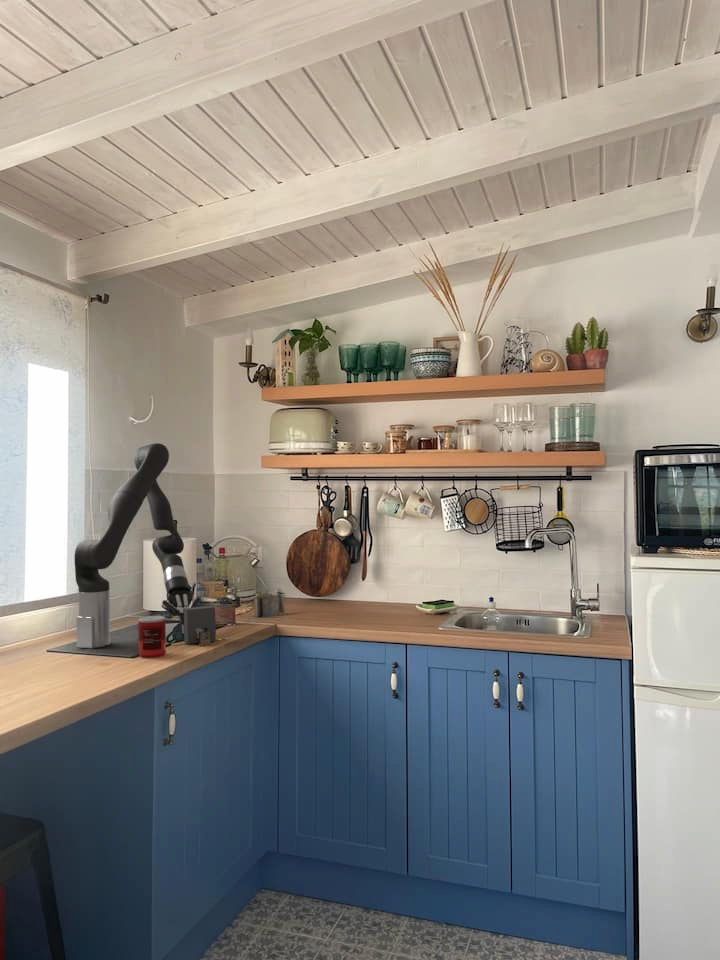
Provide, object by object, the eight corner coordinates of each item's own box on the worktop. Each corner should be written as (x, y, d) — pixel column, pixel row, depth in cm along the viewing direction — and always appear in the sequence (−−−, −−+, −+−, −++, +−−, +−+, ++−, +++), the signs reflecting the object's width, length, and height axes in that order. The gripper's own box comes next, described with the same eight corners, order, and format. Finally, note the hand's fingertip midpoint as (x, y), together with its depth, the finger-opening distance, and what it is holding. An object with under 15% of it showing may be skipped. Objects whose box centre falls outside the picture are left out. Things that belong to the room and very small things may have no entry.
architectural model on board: (257, 618, 280) (257, 593, 280) (254, 617, 283) (254, 592, 283) (285, 615, 286) (284, 590, 286) (281, 614, 288) (281, 589, 288)
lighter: (237, 624, 267) (237, 596, 267) (233, 625, 264) (233, 597, 264) (217, 623, 269) (217, 595, 269) (213, 625, 266) (212, 597, 266)
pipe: (159, 636, 246) (159, 623, 246) (212, 630, 254) (212, 618, 254) (176, 649, 226) (176, 635, 226) (233, 642, 234) (233, 629, 234)
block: (184, 641, 235) (184, 608, 235) (212, 638, 239) (211, 605, 239) (187, 643, 231) (187, 609, 231) (215, 640, 235) (215, 607, 235)
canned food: (155, 651, 223) (154, 614, 223) (171, 654, 218) (170, 617, 218) (133, 656, 217) (132, 618, 217) (149, 659, 212) (148, 621, 212)
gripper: (158, 576, 244) (166, 619, 233) (197, 573, 250) (208, 615, 239) (154, 590, 248) (163, 633, 237) (193, 587, 254) (204, 629, 243)
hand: (185, 624), depth 238 cm, fingers closed
